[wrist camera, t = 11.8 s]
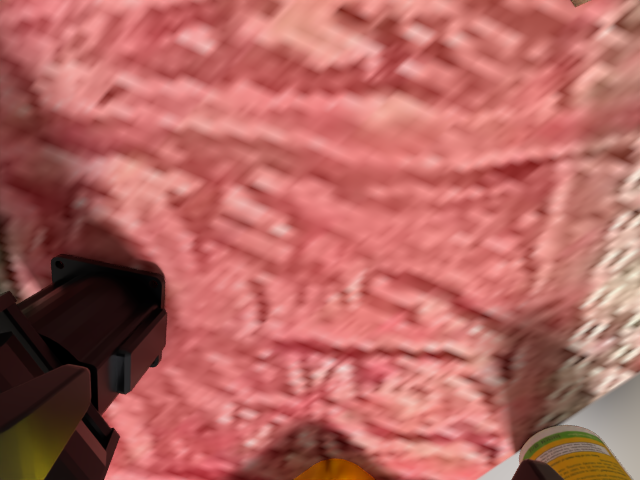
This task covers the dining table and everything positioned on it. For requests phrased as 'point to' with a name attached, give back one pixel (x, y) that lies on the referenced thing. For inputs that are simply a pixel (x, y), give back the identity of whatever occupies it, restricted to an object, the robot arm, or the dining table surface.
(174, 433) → the dining table surface
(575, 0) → the cup holder
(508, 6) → the dining table surface
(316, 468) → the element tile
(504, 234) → the dining table surface
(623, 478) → the supplement bottle
